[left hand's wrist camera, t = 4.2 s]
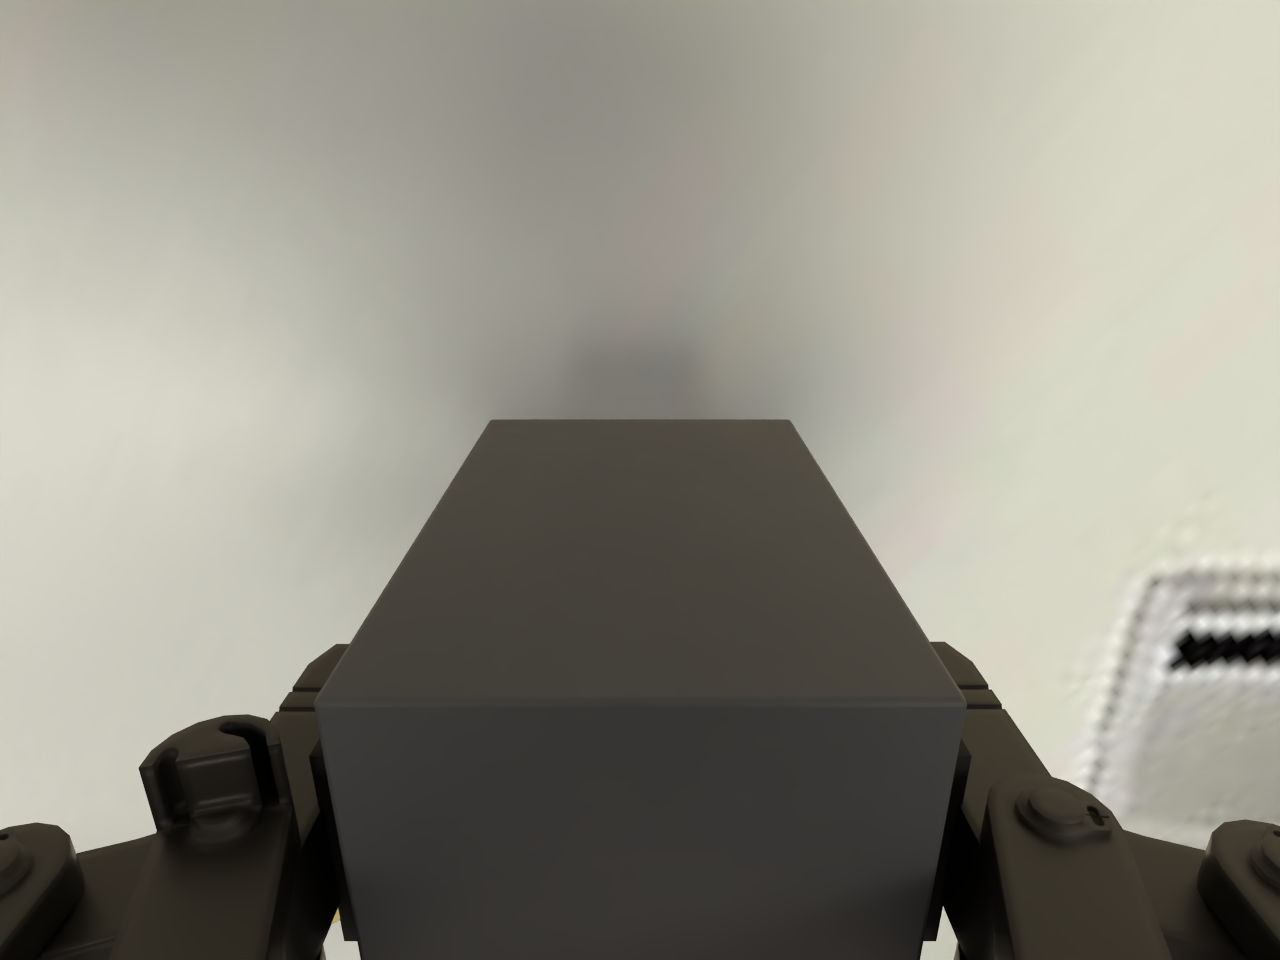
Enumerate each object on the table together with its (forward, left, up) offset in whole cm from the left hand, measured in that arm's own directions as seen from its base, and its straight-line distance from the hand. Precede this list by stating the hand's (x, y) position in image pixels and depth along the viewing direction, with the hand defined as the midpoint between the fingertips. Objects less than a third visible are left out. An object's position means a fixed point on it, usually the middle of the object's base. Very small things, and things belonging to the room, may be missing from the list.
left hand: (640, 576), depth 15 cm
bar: (+14, 0, -1) cm, 14 cm away
